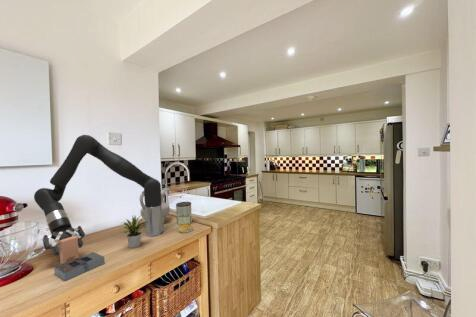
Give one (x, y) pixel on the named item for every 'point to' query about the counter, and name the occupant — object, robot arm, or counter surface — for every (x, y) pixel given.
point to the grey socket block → (78, 266)
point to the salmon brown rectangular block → (68, 249)
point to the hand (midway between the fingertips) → (69, 250)
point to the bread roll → (185, 228)
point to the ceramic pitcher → (164, 205)
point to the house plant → (134, 232)
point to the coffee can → (183, 213)
